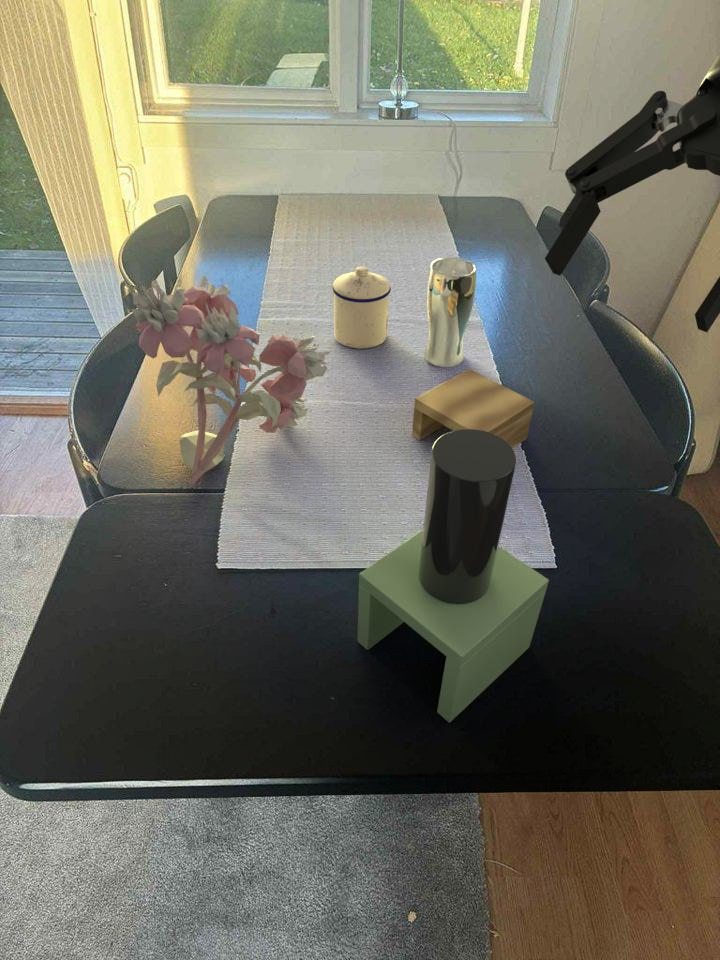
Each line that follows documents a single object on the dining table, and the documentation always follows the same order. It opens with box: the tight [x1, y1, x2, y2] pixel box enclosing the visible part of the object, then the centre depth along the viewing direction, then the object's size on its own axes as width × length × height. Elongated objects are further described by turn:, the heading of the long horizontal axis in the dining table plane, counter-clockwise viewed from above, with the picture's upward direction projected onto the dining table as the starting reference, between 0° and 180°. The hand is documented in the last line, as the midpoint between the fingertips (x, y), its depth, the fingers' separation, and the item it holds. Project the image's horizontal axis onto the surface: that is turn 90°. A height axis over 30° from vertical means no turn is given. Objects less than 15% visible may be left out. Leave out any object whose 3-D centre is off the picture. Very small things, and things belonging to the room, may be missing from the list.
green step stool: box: [357, 528, 550, 724], centre depth 66 cm, size 12×12×10 cm
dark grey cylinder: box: [418, 429, 517, 604], centre depth 58 cm, size 6×6×14 cm
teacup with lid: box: [332, 265, 392, 350], centre depth 112 cm, size 12×9×12 cm
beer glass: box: [424, 256, 478, 368], centre depth 105 cm, size 7×7×15 cm
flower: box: [131, 275, 332, 487], centre depth 86 cm, size 20×22×25 cm
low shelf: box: [411, 368, 535, 449], centre depth 92 cm, size 11×11×6 cm
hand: (621, 294), depth 57 cm, fingers open, 13 cm apart
